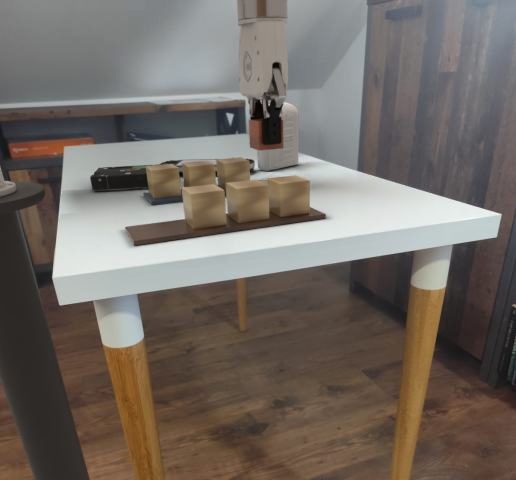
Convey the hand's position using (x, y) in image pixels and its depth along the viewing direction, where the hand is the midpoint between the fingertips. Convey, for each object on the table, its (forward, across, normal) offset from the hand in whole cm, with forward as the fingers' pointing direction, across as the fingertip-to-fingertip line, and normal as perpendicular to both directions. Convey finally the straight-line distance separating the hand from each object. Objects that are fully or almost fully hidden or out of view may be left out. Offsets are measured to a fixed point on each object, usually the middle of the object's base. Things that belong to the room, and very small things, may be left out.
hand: (266, 141), depth 83 cm
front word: (+7, +20, -14) cm, 26 cm away
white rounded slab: (+8, -17, +10) cm, 21 cm away
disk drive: (+8, -15, -20) cm, 26 cm away
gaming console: (+8, -19, -5) cm, 21 cm away
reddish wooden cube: (+1, 0, 0) cm, 1 cm away
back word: (+7, 0, -9) cm, 12 cm away
